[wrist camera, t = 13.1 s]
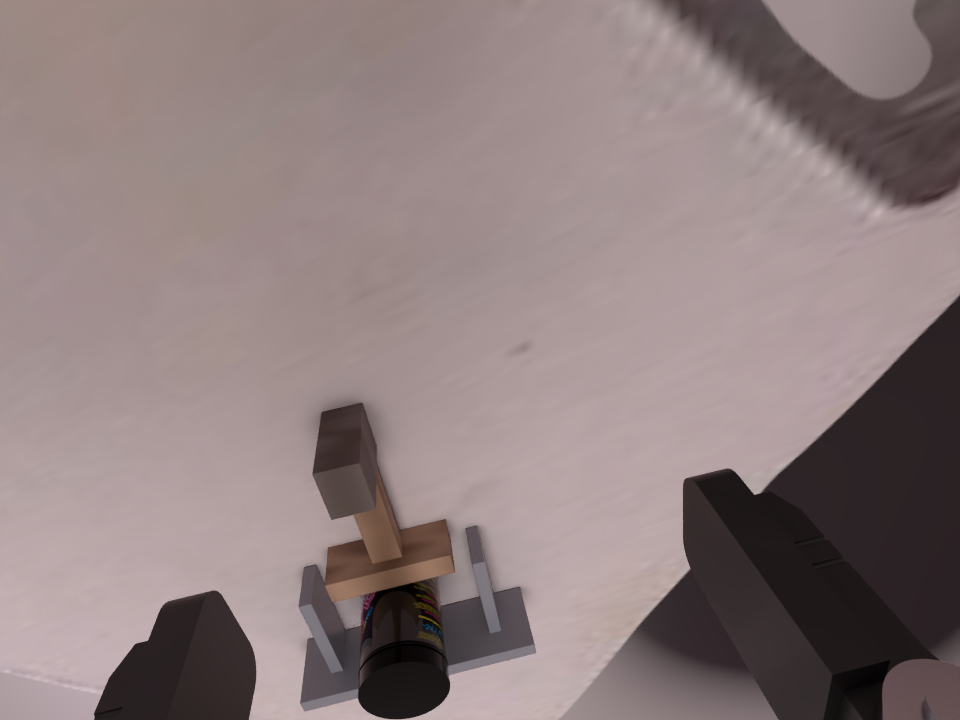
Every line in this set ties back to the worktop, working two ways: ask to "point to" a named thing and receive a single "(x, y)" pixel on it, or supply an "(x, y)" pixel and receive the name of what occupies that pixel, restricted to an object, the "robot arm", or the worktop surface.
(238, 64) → the worktop surface
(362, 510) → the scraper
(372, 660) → the supplement container
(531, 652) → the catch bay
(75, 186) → the worktop surface
